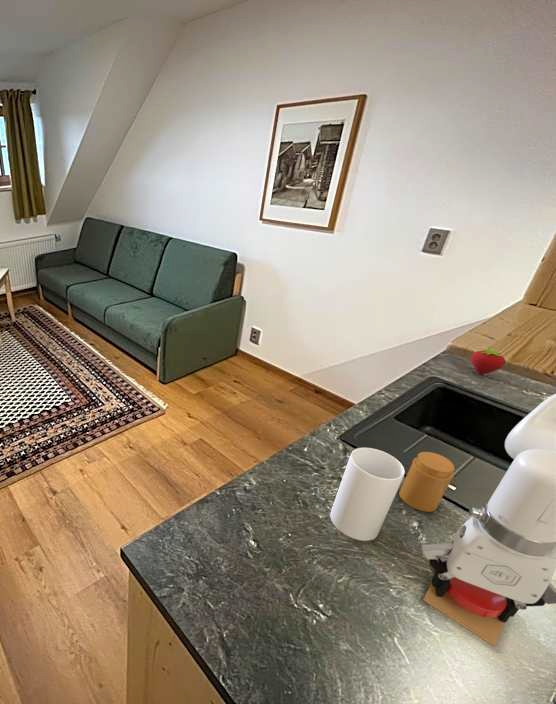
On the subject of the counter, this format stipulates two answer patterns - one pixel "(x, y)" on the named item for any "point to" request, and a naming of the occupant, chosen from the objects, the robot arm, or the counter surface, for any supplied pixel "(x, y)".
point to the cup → (366, 493)
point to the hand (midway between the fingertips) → (467, 600)
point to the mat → (465, 616)
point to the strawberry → (487, 361)
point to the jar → (427, 481)
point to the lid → (476, 598)
